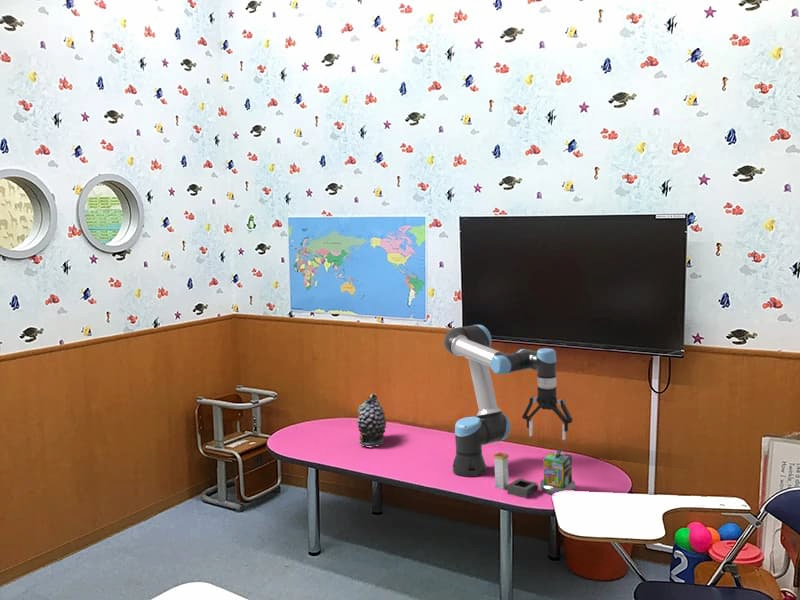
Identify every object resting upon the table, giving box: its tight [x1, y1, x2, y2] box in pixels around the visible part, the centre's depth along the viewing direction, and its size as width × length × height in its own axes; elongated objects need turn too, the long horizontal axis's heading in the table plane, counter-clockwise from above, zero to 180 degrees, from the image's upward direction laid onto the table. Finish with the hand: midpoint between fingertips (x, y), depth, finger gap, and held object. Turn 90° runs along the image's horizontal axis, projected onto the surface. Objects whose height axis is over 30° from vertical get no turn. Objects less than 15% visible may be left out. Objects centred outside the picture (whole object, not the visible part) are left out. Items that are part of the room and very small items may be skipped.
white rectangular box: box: [493, 452, 510, 490], centre depth 290 cm, size 4×4×14 cm
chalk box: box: [543, 447, 573, 488], centre depth 285 cm, size 9×9×15 cm
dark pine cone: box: [356, 392, 387, 446], centre depth 355 cm, size 21×15×25 cm
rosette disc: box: [539, 478, 576, 496], centre depth 286 cm, size 14×14×2 cm
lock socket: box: [506, 478, 539, 499], centre depth 284 cm, size 9×9×4 cm
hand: (547, 437), depth 285 cm, fingers open, 13 cm apart
